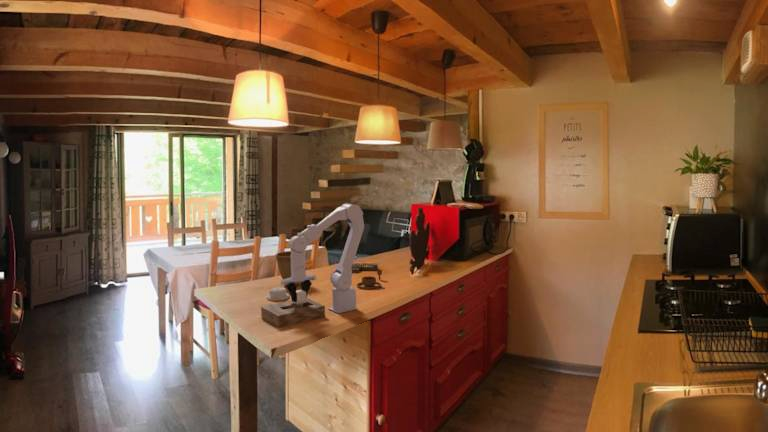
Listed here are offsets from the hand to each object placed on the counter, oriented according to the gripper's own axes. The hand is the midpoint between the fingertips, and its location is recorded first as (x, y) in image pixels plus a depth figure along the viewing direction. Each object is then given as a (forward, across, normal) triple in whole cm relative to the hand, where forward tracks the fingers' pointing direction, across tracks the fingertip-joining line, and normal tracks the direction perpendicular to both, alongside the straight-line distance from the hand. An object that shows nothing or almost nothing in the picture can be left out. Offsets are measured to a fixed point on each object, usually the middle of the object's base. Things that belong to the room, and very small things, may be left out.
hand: (299, 300), depth 190 cm
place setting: (+7, -53, -20) cm, 57 cm away
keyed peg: (+5, 0, 0) cm, 5 cm away
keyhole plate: (+6, +3, 0) cm, 7 cm away
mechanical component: (+7, -5, -30) cm, 31 cm away
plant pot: (+6, -21, -48) cm, 53 cm away
